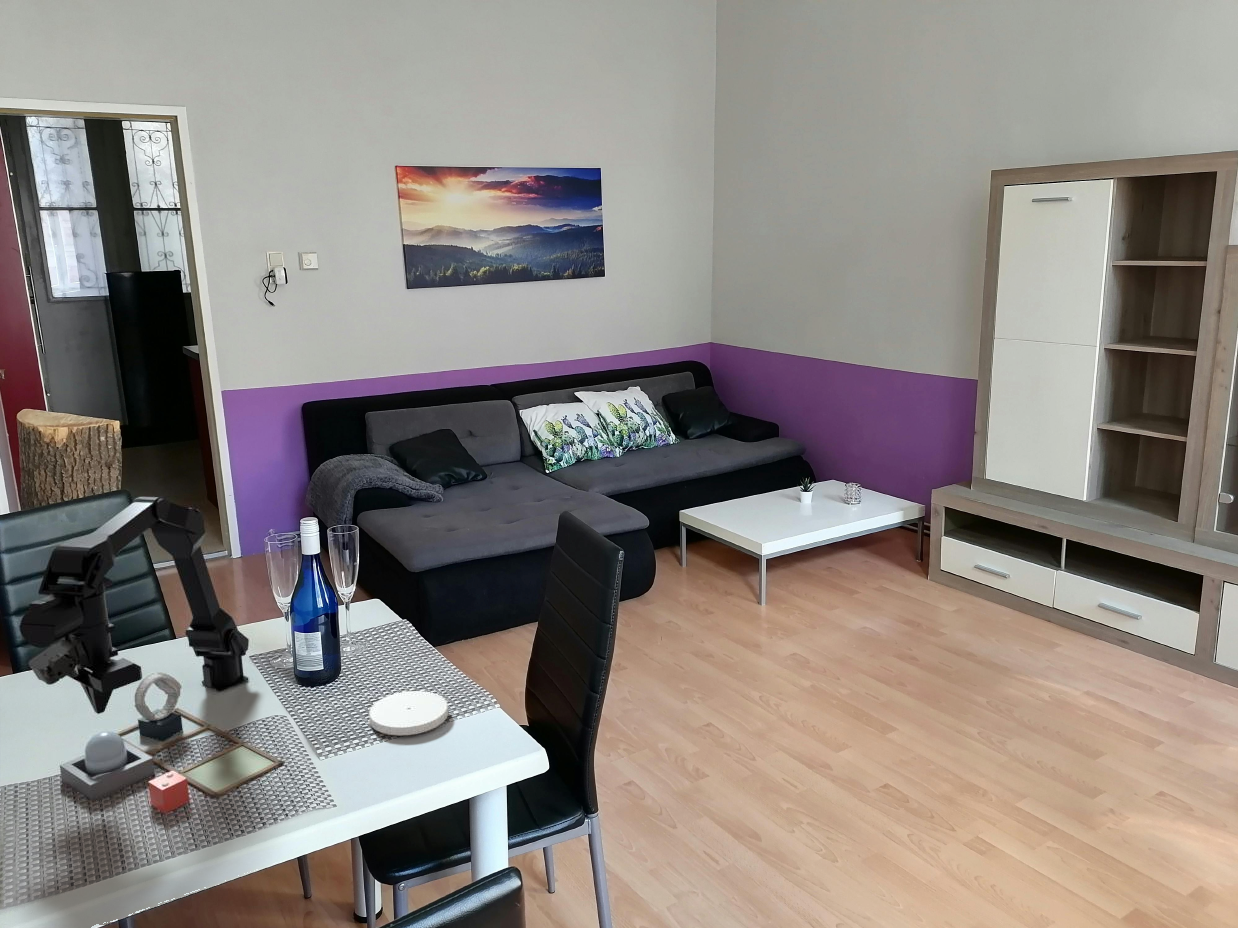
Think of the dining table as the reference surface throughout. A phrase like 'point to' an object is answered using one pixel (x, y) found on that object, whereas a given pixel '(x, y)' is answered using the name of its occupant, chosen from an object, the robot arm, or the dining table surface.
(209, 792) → the brown flat frame
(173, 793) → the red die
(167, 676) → the watch
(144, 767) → the dome frame
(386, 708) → the plastic lid
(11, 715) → the dining table surface
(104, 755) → the dome button
